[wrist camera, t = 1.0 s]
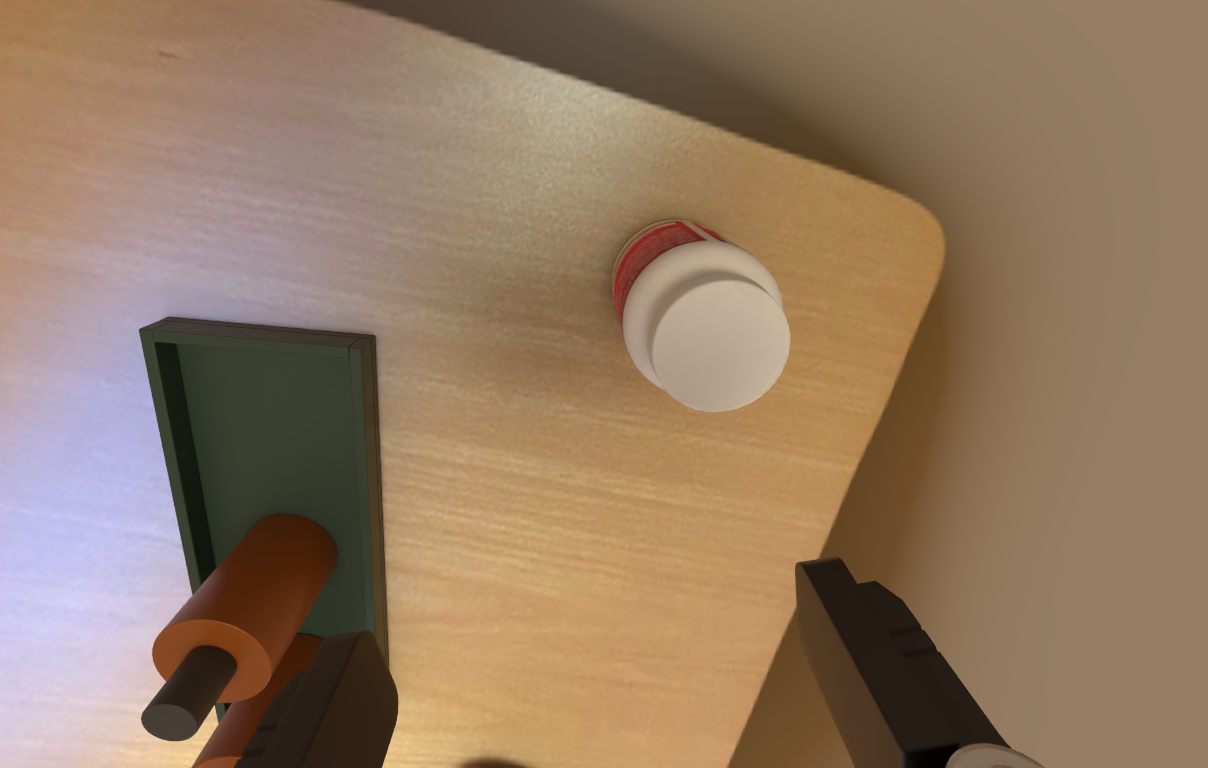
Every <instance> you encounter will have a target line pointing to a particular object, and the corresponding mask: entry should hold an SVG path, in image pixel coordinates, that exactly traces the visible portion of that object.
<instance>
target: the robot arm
mask: <svg viewBox="0 0 1208 768" xmlns="http://www.w3.org/2000/svg"><path fill="white" fill-rule="evenodd" d="M795 578H796V600H797V620H798V630H799V636H800V640H801V644H802V648H803V651H804V654H805V656H806V659H807V662H808V664H809V666H810V668H811V670H812V673H813V675H814V677H815V679H816V682H817V684H818V686H819V689H820V691H821V693H822V695H823V697H824V700H825V702H826V704H827V706H828V708H829V711H830V713H831V715H832V717H833V720H834V722H835V724H836V726H837V729H838V731H839V733H840V735H841V737H842V740H843V742H844V744H845V746H846V749H847V751H848V753H849V755H850V758H851V760H852V762H853V764H854V767H855V768H1045V767H1043V766H1042V765H1041V764H1039V763H1038V762H1036V761H1035V760H1033V759H1031V758H1030V757H1028V756H1026V755H1024V754H1022V753H1020V752H1018V751H1016V750H1013V749H1012V748H1011V747H1010V746H1009V745H1008V744H1007V743H1006V742H1005V741H1004V740H1003V738H1002V737H1001V736H1000V735H999V733H998V732H997V730H996V729H995V728H994V726H993V725H992V724H991V722H990V721H989V719H988V718H987V717H986V716H985V714H984V712H983V711H982V710H981V708H980V707H979V706H978V704H977V703H976V701H975V700H974V699H973V697H972V696H971V694H970V693H969V692H968V690H967V689H966V687H965V686H964V685H963V683H962V682H961V681H960V679H959V678H958V676H957V675H956V674H955V672H954V671H953V670H952V668H951V667H950V666H949V664H948V663H947V661H946V660H945V658H944V657H943V656H942V654H941V653H940V652H938V651H937V650H936V646H935V645H934V643H933V642H932V640H931V639H930V638H929V636H928V635H927V633H926V632H925V631H924V630H922V629H921V625H920V624H919V622H918V621H917V620H916V618H915V617H914V615H913V614H912V613H911V611H910V610H909V608H908V607H907V606H906V604H905V603H904V602H903V600H902V599H900V598H899V597H897V596H896V595H895V594H893V593H892V592H890V591H889V590H888V589H886V588H885V587H883V586H882V585H881V584H879V583H878V582H876V581H872V582H866V583H860V584H857V583H856V581H855V580H854V578H853V577H852V575H851V573H850V572H849V570H848V569H847V567H846V565H845V564H844V562H843V561H842V560H841V559H840V558H839V557H837V556H835V557H829V558H823V559H816V560H810V561H804V562H798V563H796V566H795ZM397 715H398V694H397V689H396V686H395V683H394V681H393V678H392V676H391V674H390V671H389V669H388V667H387V664H386V662H385V659H384V657H383V655H382V652H381V650H380V648H379V645H378V643H377V641H376V638H375V636H374V635H373V633H372V632H371V631H368V630H365V631H359V632H353V633H347V634H340V635H334V636H329V637H326V638H325V639H324V640H323V641H322V642H321V644H320V645H319V647H318V649H317V651H316V653H315V655H314V657H313V659H312V661H311V663H310V665H309V666H308V668H307V670H303V671H297V672H296V673H295V674H294V676H293V677H292V678H291V679H290V680H289V681H288V682H287V683H286V684H285V685H284V686H283V687H282V688H281V689H280V691H279V692H278V693H277V694H276V695H275V696H274V697H273V698H272V700H271V701H270V703H269V705H268V707H267V709H266V710H265V712H264V714H263V716H262V718H261V719H260V721H259V723H258V725H257V727H256V733H254V734H252V735H251V737H250V739H249V741H248V743H247V744H246V746H245V748H244V750H243V752H242V758H241V759H238V761H237V762H236V764H235V766H234V768H382V766H383V763H384V759H385V756H386V753H387V750H388V747H389V744H390V741H391V737H392V734H393V731H394V728H395V725H396V721H397Z"/></svg>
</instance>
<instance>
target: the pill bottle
mask: <svg viewBox="0 0 1208 768" xmlns="http://www.w3.org/2000/svg"><path fill="white" fill-rule="evenodd" d="M612 293H613V299H614V303H615V307H616V311H617V314H618V318H619V322H620V326H621V329H622V333H623V338H624V341H625V345H626V348H627V350H628V353H629V355H630V357H631V359H632V361H633V362H634V364H635V365H636V367H637V368H638V370H639V371H640V372H641V373H642V374H643V375H644V376H645V377H646V378H647V379H648V380H649V381H650V382H651V383H653V384H654V385H656V386H657V387H659V388H660V389H662V390H664V391H666V392H667V393H668V394H669V395H670V396H671V397H673V398H674V399H675V400H677V401H678V402H680V403H681V404H683V405H685V406H687V407H689V408H692V409H695V410H699V411H703V412H725V411H731V410H735V409H738V408H741V407H743V406H746V405H748V404H750V403H751V402H753V401H755V400H756V399H758V398H760V397H761V396H762V395H763V394H764V393H766V392H767V391H768V390H769V389H770V388H771V387H772V386H773V384H774V383H775V382H776V380H777V379H778V378H779V376H780V375H781V373H782V371H783V369H784V367H785V364H786V362H787V359H788V356H789V350H790V330H789V325H788V321H787V319H786V316H785V314H784V310H783V302H782V297H781V294H780V291H779V288H778V286H777V284H776V282H775V280H774V278H773V276H772V275H771V273H770V272H769V271H768V269H767V268H766V267H765V266H764V265H763V264H762V263H761V262H760V261H759V260H758V259H757V258H755V257H754V256H753V255H752V254H750V253H749V252H747V251H746V250H744V249H742V248H740V247H739V246H737V245H735V244H733V243H732V242H730V241H728V240H727V239H725V238H723V237H722V236H720V235H718V234H717V233H715V232H714V231H712V230H710V229H709V228H707V227H705V226H703V225H701V224H698V223H695V222H692V221H687V220H679V219H673V220H664V221H660V222H657V223H654V224H651V225H649V226H647V227H645V228H643V229H642V230H640V231H639V232H637V233H636V234H635V235H634V236H633V237H632V238H631V239H630V240H629V241H628V242H627V243H626V244H625V245H624V247H623V248H622V250H621V252H620V253H619V255H618V257H617V260H616V262H615V265H614V269H613V274H612Z"/></svg>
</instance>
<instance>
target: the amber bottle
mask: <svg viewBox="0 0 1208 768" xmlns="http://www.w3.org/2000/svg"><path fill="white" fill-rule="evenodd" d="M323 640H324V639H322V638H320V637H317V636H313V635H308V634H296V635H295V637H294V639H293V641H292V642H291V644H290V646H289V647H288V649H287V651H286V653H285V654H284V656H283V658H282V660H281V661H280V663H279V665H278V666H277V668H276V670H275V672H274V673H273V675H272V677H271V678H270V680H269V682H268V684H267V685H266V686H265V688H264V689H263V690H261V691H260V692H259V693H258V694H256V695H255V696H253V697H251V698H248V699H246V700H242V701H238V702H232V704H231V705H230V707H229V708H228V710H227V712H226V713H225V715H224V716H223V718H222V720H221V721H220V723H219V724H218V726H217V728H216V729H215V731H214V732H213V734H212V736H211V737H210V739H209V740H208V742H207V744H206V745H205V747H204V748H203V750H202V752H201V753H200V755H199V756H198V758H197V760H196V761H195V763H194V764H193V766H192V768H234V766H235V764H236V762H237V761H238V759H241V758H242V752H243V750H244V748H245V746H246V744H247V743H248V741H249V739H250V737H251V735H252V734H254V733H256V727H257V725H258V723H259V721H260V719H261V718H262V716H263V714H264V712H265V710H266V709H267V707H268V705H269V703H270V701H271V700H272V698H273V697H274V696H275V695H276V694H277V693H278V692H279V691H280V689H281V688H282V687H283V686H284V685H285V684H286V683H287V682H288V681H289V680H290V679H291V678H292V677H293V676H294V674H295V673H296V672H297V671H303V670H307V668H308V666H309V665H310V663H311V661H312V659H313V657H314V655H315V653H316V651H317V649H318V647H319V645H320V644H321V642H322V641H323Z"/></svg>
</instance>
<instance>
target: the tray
mask: <svg viewBox="0 0 1208 768" xmlns="http://www.w3.org/2000/svg"><path fill="white" fill-rule="evenodd" d="M139 333H140V338H141V343H142V348H143V353H144V358H145V362H146V367H147V372H148V377H149V382H150V387H151V392H152V397H153V402H154V407H155V412H156V417H157V422H158V427H159V432H160V437H161V442H162V447H163V451H164V456H165V461H166V466H167V471H168V476H169V481H170V486H171V491H172V496H173V501H174V506H175V511H176V516H177V521H178V526H179V531H180V535H181V540H182V545H183V550H184V555H185V560H186V565H187V570H188V575H189V580H190V585H191V590H192V595H193V594H194V593H195V592H196V591H197V590H198V589H199V588H200V586H201V585H202V584H203V583H204V582H205V581H206V579H207V578H208V577H209V576H210V575H211V574H212V572H213V571H214V570H215V569H216V568H217V567H218V566H219V564H220V563H221V562H222V561H223V560H224V559H225V557H226V556H227V555H228V554H229V553H230V552H231V550H232V549H233V548H234V547H235V546H236V545H237V544H238V542H239V541H240V540H241V539H242V538H243V537H244V535H245V534H246V533H247V532H248V531H249V530H250V529H251V527H252V526H253V525H254V524H255V523H257V522H258V521H259V520H261V519H263V518H265V517H268V516H271V515H276V514H292V515H298V516H302V517H305V518H307V519H310V520H312V521H314V522H315V523H317V524H318V525H320V526H321V527H323V528H324V529H325V530H326V531H327V532H328V533H329V535H330V536H331V537H332V539H333V541H334V543H335V545H336V548H337V563H336V566H335V568H334V570H333V572H332V573H331V575H330V577H329V579H328V580H327V582H326V584H325V586H324V587H323V589H322V591H321V592H320V594H319V596H318V598H317V599H316V601H315V603H314V604H313V606H312V608H311V610H310V611H309V613H308V615H307V617H306V618H305V620H304V622H303V623H302V625H301V627H300V629H299V630H298V632H297V634H308V635H313V636H317V637H320V638H322V639H325V638H326V637H329V636H334V635H340V634H347V633H353V632H359V631H365V630H368V631H371V632H372V633H373V635H374V636H375V638H376V641H377V643H378V645H379V648H380V650H381V652H382V655H383V657H384V659H385V662H386V664H387V667H388V669H389V659H388V635H387V611H386V588H385V564H384V540H383V516H382V493H381V469H380V445H379V421H378V397H377V374H376V350H375V336H373V335H361V334H350V333H339V332H328V331H317V330H306V329H294V328H283V327H272V326H261V325H250V324H239V323H227V322H216V321H205V320H194V319H183V318H172V317H167V318H165V319H162V320H160V321H158V322H155V323H153V324H150V325H148V326H145V327H143V328H140V329H139ZM231 704H232V702H231V703H215V708H216V713H217V718H218V723H220V721H221V720H222V718H223V716H224V715H225V713H226V712H227V710H228V708H229V707H230V705H231Z"/></svg>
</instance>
